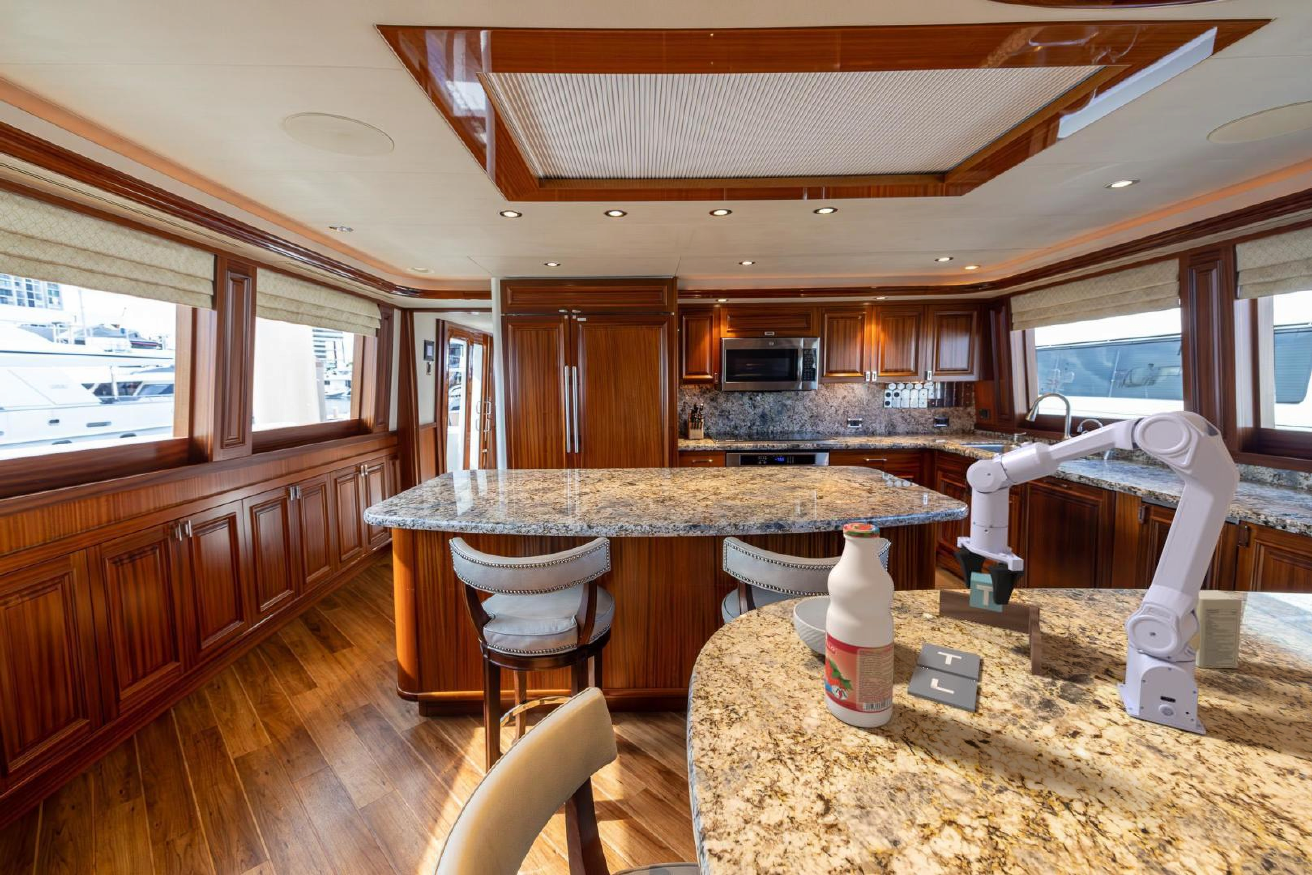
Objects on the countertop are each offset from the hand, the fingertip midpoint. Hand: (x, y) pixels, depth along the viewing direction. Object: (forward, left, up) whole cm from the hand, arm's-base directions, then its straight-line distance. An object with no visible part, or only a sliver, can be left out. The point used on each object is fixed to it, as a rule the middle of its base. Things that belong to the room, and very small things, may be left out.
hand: (986, 595), depth 96 cm
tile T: (-11, +5, -9) cm, 15 cm away
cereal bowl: (-17, +22, -10) cm, 29 cm away
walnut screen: (+1, 0, -9) cm, 9 cm away
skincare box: (+13, -32, -10) cm, 36 cm away
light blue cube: (0, 0, -2) cm, 2 cm away
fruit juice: (-34, +15, -10) cm, 38 cm away
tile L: (-21, +5, -9) cm, 23 cm away
